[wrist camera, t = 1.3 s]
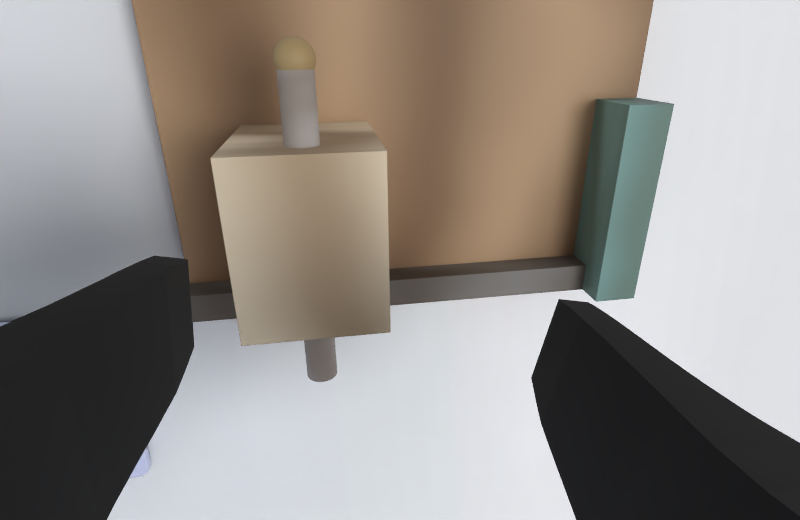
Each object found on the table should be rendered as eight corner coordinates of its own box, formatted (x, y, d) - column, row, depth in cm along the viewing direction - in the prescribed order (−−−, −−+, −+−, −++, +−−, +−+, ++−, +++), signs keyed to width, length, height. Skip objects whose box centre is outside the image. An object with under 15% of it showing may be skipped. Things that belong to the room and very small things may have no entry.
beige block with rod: (267, 316, 18) (251, 405, 14) (229, 38, 14) (190, 35, 10) (373, 307, 19) (391, 390, 14) (363, 37, 15) (384, 34, 11)
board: (203, 291, 19) (181, 341, 16) (141, -34, 15) (92, -55, 12) (586, 262, 21) (633, 300, 18) (631, -28, 17) (704, -45, 14)
